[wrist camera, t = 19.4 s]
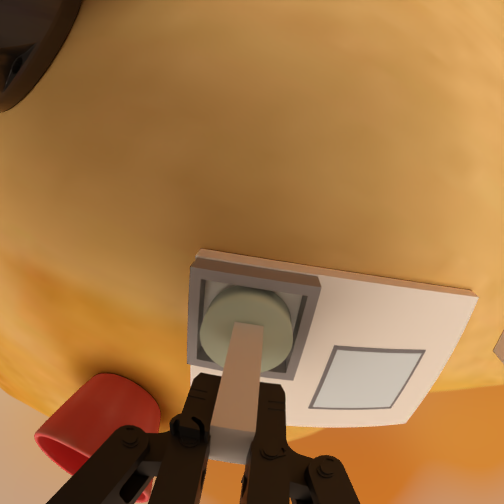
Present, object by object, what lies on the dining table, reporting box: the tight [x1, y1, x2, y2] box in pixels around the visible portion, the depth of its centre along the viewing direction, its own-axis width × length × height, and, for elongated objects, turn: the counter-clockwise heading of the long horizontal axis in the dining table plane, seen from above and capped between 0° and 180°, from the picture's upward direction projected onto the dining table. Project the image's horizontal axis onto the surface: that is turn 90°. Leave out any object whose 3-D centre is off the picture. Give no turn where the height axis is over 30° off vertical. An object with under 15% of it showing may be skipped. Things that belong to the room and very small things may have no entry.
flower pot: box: [34, 373, 161, 503], centre depth 18 cm, size 11×11×10 cm
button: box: [200, 285, 293, 373], centre depth 15 cm, size 5×5×2 cm
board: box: [187, 249, 479, 427], centre depth 17 cm, size 14×20×3 cm
